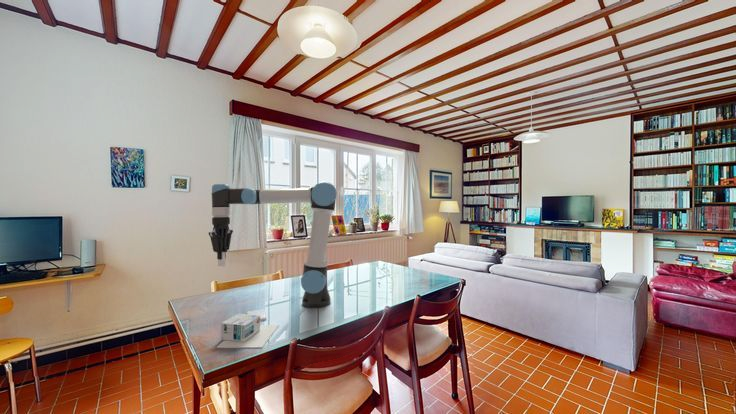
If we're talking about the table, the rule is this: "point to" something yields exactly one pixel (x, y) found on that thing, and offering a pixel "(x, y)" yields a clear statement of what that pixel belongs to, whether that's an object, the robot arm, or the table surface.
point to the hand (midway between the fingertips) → (221, 265)
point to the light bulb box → (240, 327)
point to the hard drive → (259, 313)
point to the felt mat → (252, 339)
